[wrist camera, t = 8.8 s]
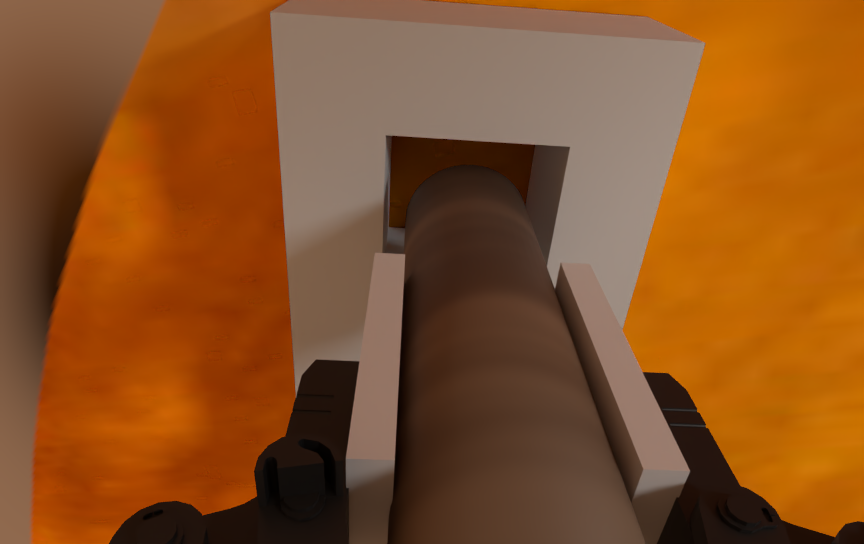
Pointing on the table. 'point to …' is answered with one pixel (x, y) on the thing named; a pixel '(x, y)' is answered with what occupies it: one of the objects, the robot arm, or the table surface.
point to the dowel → (493, 384)
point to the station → (467, 136)
